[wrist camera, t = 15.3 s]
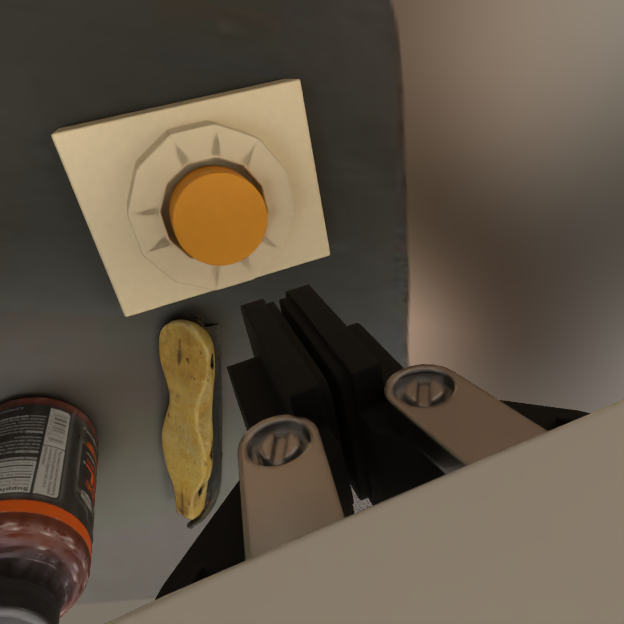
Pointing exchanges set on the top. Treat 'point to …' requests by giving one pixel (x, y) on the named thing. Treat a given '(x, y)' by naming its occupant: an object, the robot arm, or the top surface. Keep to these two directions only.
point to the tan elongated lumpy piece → (192, 414)
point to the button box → (175, 165)
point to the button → (217, 215)
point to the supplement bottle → (45, 508)
